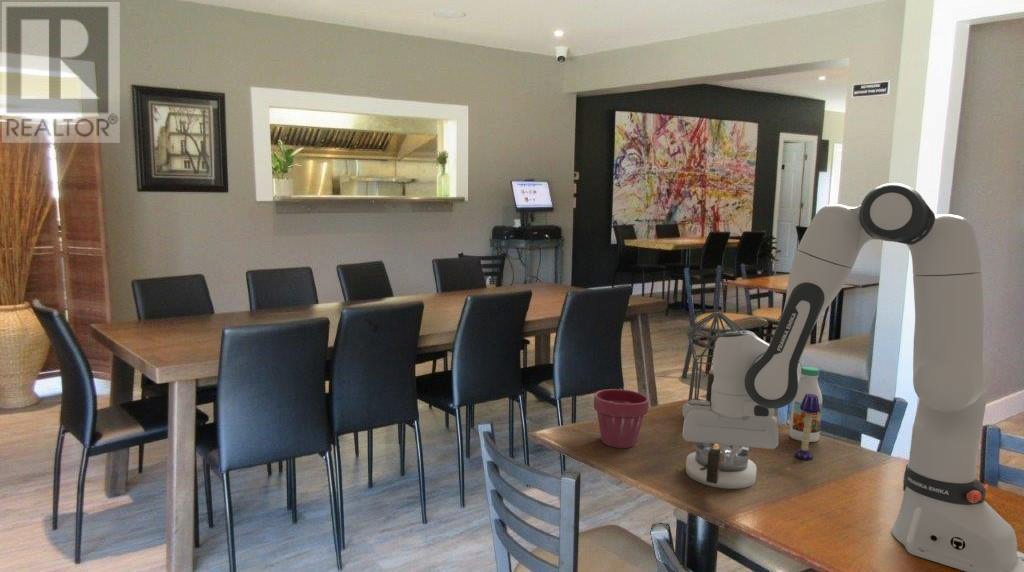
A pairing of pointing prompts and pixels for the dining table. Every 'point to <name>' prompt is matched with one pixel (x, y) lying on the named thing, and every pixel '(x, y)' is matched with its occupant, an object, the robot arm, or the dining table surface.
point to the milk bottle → (805, 386)
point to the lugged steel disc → (719, 460)
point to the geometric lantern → (690, 334)
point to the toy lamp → (807, 424)
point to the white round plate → (722, 475)
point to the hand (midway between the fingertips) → (727, 463)
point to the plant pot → (620, 416)
